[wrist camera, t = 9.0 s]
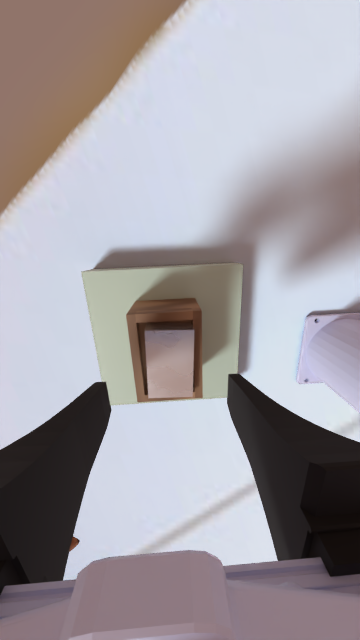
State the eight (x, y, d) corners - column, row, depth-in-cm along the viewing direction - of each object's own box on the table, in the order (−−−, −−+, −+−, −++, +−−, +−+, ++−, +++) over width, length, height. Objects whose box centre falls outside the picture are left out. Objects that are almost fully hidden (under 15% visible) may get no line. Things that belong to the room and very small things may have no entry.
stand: (234, 262, 19) (243, 264, 17) (229, 382, 23) (236, 396, 21) (92, 269, 19) (81, 271, 16) (113, 389, 23) (106, 405, 21)
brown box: (194, 297, 18) (201, 310, 14) (196, 369, 20) (202, 398, 16) (135, 300, 17) (125, 314, 14) (143, 373, 20) (137, 402, 16)
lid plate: (191, 322, 15) (194, 329, 13) (190, 384, 16) (192, 396, 15) (146, 323, 15) (144, 330, 13) (150, 385, 16) (148, 398, 15)
